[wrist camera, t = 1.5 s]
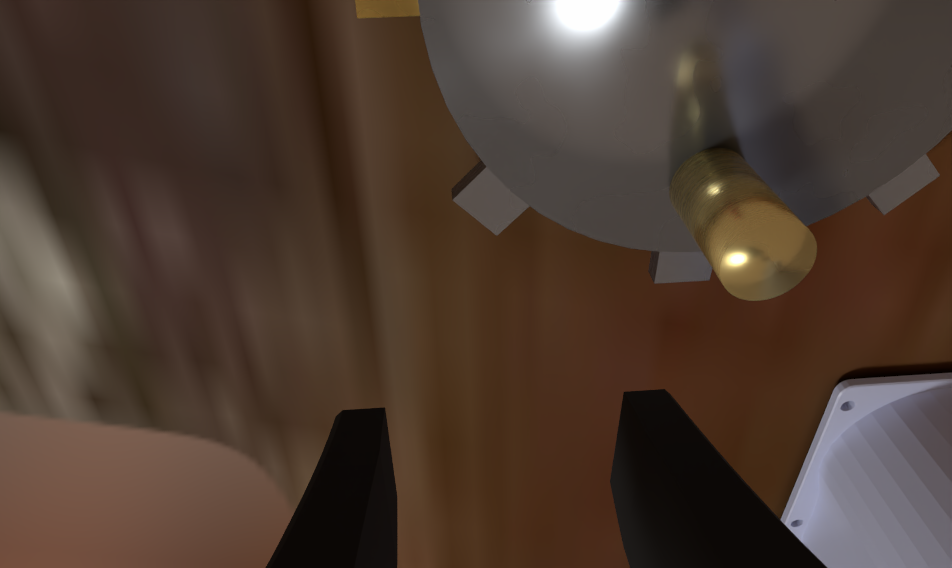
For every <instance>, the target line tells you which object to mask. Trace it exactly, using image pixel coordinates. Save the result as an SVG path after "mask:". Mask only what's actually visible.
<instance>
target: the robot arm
mask: <svg viewBox="0 0 952 568" xmlns="http://www.w3.org/2000/svg"><path fill="white" fill-rule="evenodd" d="M610 483H611V488H612V493H613V498H614V503H615V508H616V513H617V518H618V523H619V527H620V532H621V536H622V541H623V546H624V549H625V552H626V556H627V559H628V562H629V565H630V568H952V373H937V374H922V375H907V376H891V377H876V378H861V379H849V380H845V381H842V382H840V383H839V384H838V385H837V386H836V387H835V389H834V390H833V393H832V395H831V398H830V400H829V403H828V405H827V407H826V410H825V412H824V415H823V417H822V420H821V422H820V425H819V427H818V430H817V432H816V434H815V437H814V439H813V442H812V444H811V447H810V449H809V452H808V454H807V456H806V459H805V461H804V464H803V466H802V469H801V471H800V474H799V476H798V479H797V481H796V483H795V486H794V488H793V491H792V493H791V496H790V498H789V501H788V503H787V506H786V508H785V510H784V513H783V515H782V518H781V520H780V519H779V518H778V517H777V516H776V515H775V514H774V513H773V512H772V511H771V509H770V508H769V507H768V506H767V505H766V504H765V503H764V502H763V501H762V500H761V499H760V498H759V497H758V495H757V494H756V493H755V492H754V491H753V490H752V489H751V488H750V487H749V486H748V485H747V484H746V483H745V481H744V480H743V479H742V478H741V477H740V476H739V475H738V474H737V472H736V471H735V470H734V469H733V468H732V467H731V466H730V465H729V463H728V462H727V461H726V460H725V459H724V458H723V456H722V455H721V454H720V453H719V452H718V451H717V450H716V448H715V447H714V446H713V445H712V444H711V443H710V441H709V440H708V439H707V438H706V437H705V435H704V434H703V433H702V432H701V431H700V430H699V428H698V427H697V426H696V425H695V424H694V422H693V421H692V420H691V419H690V418H689V416H688V415H687V414H686V413H685V411H684V410H683V409H682V408H681V407H680V405H679V404H678V403H677V402H676V401H675V399H674V398H673V397H672V396H671V395H670V394H669V393H668V392H667V391H666V390H665V389H661V390H646V391H631V392H624V395H623V401H622V408H621V414H620V421H619V427H618V433H617V440H616V446H615V453H614V459H613V466H612V472H611V479H610ZM266 568H397V492H396V484H395V477H394V470H393V463H392V455H391V448H390V441H389V434H388V426H387V419H386V412H385V408H370V409H355V410H343V411H341V412H340V413H339V414H338V415H337V416H336V418H335V421H334V423H333V426H332V429H331V432H330V435H329V437H328V440H327V442H326V445H325V447H324V450H323V452H322V455H321V457H320V459H319V462H318V464H317V466H316V469H315V471H314V473H313V475H312V477H311V480H310V482H309V484H308V486H307V488H306V490H305V493H304V495H303V497H302V499H301V501H300V503H299V505H298V507H297V509H296V511H295V513H294V515H293V517H292V519H291V521H290V523H289V525H288V527H287V529H286V530H285V532H284V534H283V536H282V538H281V540H280V542H279V544H278V546H277V548H276V550H275V552H274V554H273V555H272V557H271V559H270V561H269V563H268V564H267V566H266Z"/></svg>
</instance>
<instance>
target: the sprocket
mask: <svg viewBox="0 0 952 568" xmlns="http://www.w3.org/2000/svg"><path fill="white" fill-rule="evenodd" d="M355 3H356V11H357V18H376V17H403V16H420V20H421V27H422V31H423V35H424V39H425V43H426V47H427V51H428V54H429V58H430V62H431V66H432V70H433V72H434V75H435V77H436V80H437V82H438V85H439V87H440V90H441V92H442V95H443V97H444V100H445V102H446V105H447V107H448V109H449V111H450V112H451V114H452V116H453V118H454V119H455V121H456V123H457V125H458V126H459V128H460V130H461V132H462V134H463V135H464V137H465V139H466V141H467V142H468V143H469V144H470V146H471V147H472V148H473V150H474V151H475V152H476V154H477V155H478V156H479V158H480V159H481V161H480V162H479V163H478V164H477V165H476V166H475V167H474V168H473V169H472V170H471V171H469V172H468V173H467V174H466V175H465V176H464V177H463V178H462V179H461V180H460V181H459V182H458V183H457V184H456V185H455V186H454V187H453V188H452V199H453V201H454V202H456V203H457V204H458V205H459V206H461V207H462V208H463V209H464V210H465V211H467V212H468V213H469V214H470V215H472V216H473V217H474V218H475V219H477V220H478V221H479V222H480V223H482V224H483V225H484V226H485V227H487V228H488V229H489V230H490V231H492V232H493V233H494V234H495V235H498V234H499V233H500V232H502V231H503V230H504V229H505V228H506V227H507V226H508V225H509V224H510V223H511V222H512V221H514V220H515V219H516V218H517V217H518V216H519V215H520V214H521V213H522V212H523V211H525V210H526V209H527V208H528V207H529V206H531V207H532V208H533V209H535V210H536V211H537V212H539V213H540V214H542V215H544V216H546V217H548V218H549V219H551V220H553V221H555V222H557V223H558V224H560V225H562V226H564V227H566V228H568V229H570V230H572V231H575V232H578V233H580V234H583V235H585V236H588V237H590V238H593V239H596V240H598V241H602V242H606V243H610V244H615V245H619V246H623V247H627V248H632V249H641V250H649V251H652V252H651V258H650V265H649V271H648V272H649V274H650V276H651V278H652V280H653V282H654V283H670V282H687V281H704V280H710V276H711V271H712V268H713V270H714V271H715V273H716V274H717V276H718V277H719V279H720V281H721V282H722V284H723V285H724V287H725V288H726V290H727V291H728V292H729V293H731V294H732V295H734V296H735V297H737V298H740V299H744V300H750V301H759V300H766V299H770V298H773V297H776V296H779V295H781V294H783V293H785V292H787V291H789V290H790V289H792V288H793V287H795V286H796V285H797V284H798V283H799V282H800V281H802V280H803V278H804V277H805V276H806V275H807V274H808V272H809V271H810V269H811V268H812V266H813V264H814V261H815V258H816V254H817V244H816V240H815V238H814V236H813V234H812V233H811V231H810V230H809V229H808V228H807V227H806V226H807V225H810V224H812V223H814V222H817V221H819V220H821V219H824V218H826V217H828V216H831V215H833V214H835V213H836V212H838V211H840V210H842V209H844V208H846V207H847V206H849V205H851V204H853V203H855V202H857V201H858V200H860V199H862V198H864V197H866V198H867V199H868V200H869V201H870V203H871V204H872V205H873V206H874V207H875V208H876V209H878V210H879V211H880V212H881V213H882V214H883V215H885V214H886V213H888V212H889V211H890V210H892V209H893V208H895V207H896V206H898V205H899V204H900V203H902V202H903V201H905V200H906V199H907V198H909V197H910V196H912V195H913V194H914V193H916V192H917V191H919V190H920V189H922V188H923V187H924V186H926V185H927V184H929V183H930V182H931V181H933V180H934V179H936V178H937V177H938V176H940V175H939V173H938V172H937V170H936V169H935V167H934V166H933V164H932V163H931V161H930V160H929V158H928V157H927V155H926V153H927V152H928V151H930V150H931V149H932V148H933V147H934V146H935V145H937V144H938V143H939V142H940V141H941V140H942V139H943V138H944V137H945V136H946V135H947V134H948V133H949V132H950V131H951V130H952V0H355Z"/></svg>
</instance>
